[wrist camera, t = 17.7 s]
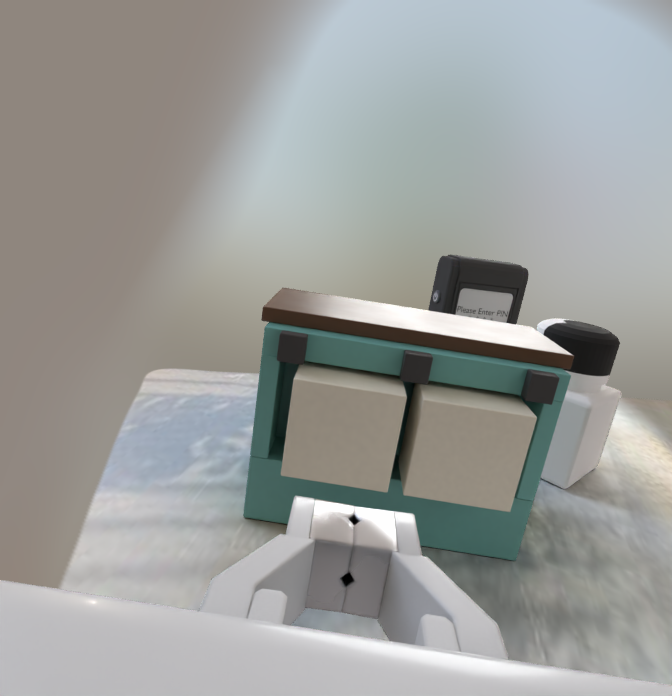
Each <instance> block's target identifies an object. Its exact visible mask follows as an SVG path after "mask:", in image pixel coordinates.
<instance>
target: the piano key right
mask: <svg viewBox="0 0 672 696" xmlns="http://www.w3.org/2000/svg"><path fill="white" fill-rule="evenodd" d="M536 420H537V417H536V416H535V414H534V413H533V412H532V411H531V410H530V409H529V407H528V406H527V405H526V404H525V403H524V402H523V400H522V399H521V398H520V397H519V396H518V395H517V394H510V393H504V392H498V391H492V390H485V389H479V388H473V387H466V386H460V385H454V384H448V383H441V382H435V381H429V380H428V384H427V385H424V384H418V383H415V384H414V389H413V393H412V398H411V403H410V408H409V413H408V418H407V422H406V427H405V432H404V437H403V442H402V447H401V451H400V456H399V461H398V463H399V470H400V476H401V483H402V489H403V495H405V496H412V497H418V498H424V499H430V500H437V501H443V502H449V503H455V504H461V505H468V506H474V507H480V508H486V509H493V510H499V511H505V512H510V511H511V507H512V504H513V500H514V497H515V493H516V490H517V486H518V483H519V479H520V476H521V472H522V469H523V465H524V462H525V458H526V455H527V451H528V448H529V444H530V441H531V437H532V434H533V430H534V427H535V423H536Z"/></svg>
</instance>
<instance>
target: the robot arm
mask: <svg viewBox="0 0 672 696" xmlns="http://www.w3.org/2000/svg"><path fill="white" fill-rule="evenodd" d="M314 503H315V505H314ZM313 509H314V511H313ZM312 516H313V517H312ZM311 523H312V524H311ZM305 608H311V609H318V610H326V611H334V612H342V613H347V614H352V615H358V616H363V617H369V618H374V619H378V622H379V624H380V626H381V627H382V629H383V630H384V632H385V634H386V635H387V637H388V638H389V640H390V641H387V640H380V639H374V638H368V637H361V636H355V635H349V634H342V633H336V632H329V631H323V630H317V629H310V628H304V627H298V626H291V624H292V623H293V622H294V621H295V620H296V619H297V618H298V617H299V616H300V614H301V613H302V612H303V611H304V610H305ZM0 696H672V685H667V684H661V683H655V682H648V681H642V680H636V679H629V678H623V677H617V676H610V675H604V674H598V673H591V672H585V671H578V670H572V669H566V668H559V667H553V666H546V665H540V664H534V663H527V662H521V661H515V660H509V657H508V654H507V651H506V648H505V645H504V642H503V639H502V636H501V633H500V630H499V627H498V624H497V623H496V622H495V621H494V620H493V619H492V618H491V617H490V616H489V615H488V614H487V613H486V612H484V611H483V610H482V609H481V608H480V607H479V606H478V605H477V604H476V603H475V602H474V601H473V600H472V599H471V598H470V597H469V596H468V595H467V594H466V593H465V592H464V591H463V590H462V589H461V588H460V587H459V586H457V585H456V584H455V583H454V582H453V581H452V580H451V579H450V578H449V577H448V576H447V575H446V574H445V573H444V572H443V571H442V570H441V569H440V568H439V567H438V566H437V565H436V564H435V563H434V562H433V561H431V560H430V559H429V558H428V557H425V556H422V552H421V547H420V542H419V536H418V531H417V526H416V520H415V515H414V514H413V513H405V512H396V511H387V510H379V509H372V508H364V507H356V506H354V505H348V504H343V503H337V502H331V501H326V500H320V499H314V498H309V497H302V496H295V497H294V500H293V504H292V509H291V513H290V517H289V522H288V526H287V531H286V535H284V534H279V535H278V536H276V537H275V538H273V539H272V540H270V541H268V542H267V543H265V544H264V545H262V546H261V547H259V548H258V549H256V550H255V551H253V552H252V553H250V554H249V555H247V556H246V557H244V558H242V559H241V560H239V561H238V562H236V563H235V564H233V565H232V566H230V567H229V568H227V569H226V570H224V571H223V572H221V573H220V574H218V575H217V576H215V577H213V578H212V579H211V581H210V584H209V586H208V589H207V591H206V594H205V596H204V598H203V601H202V603H201V606H200V608H199V611H196V610H189V609H183V608H176V607H170V606H164V605H157V604H151V603H145V602H138V601H132V600H125V599H119V598H113V597H106V596H100V595H94V594H87V593H81V592H74V591H68V590H62V589H55V588H49V587H42V586H36V585H30V584H23V583H17V582H11V581H4V580H0Z"/></svg>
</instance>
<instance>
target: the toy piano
mask: <svg viewBox="0 0 672 696" xmlns="http://www.w3.org/2000/svg"><path fill="white" fill-rule="evenodd" d="M262 321H267V322H269V323H268V324H267V325H266V327H265V332H264V339H263V348H262V357H261V366H260V375H259V383H258V392H257V401H256V409H255V418H254V427H253V436H252V444H251V453H250V455H251V456H250V462H249V471H248V480H247V488H246V497H245V506H244V514H243V516H244V517H246V518H252V519H258V520H264V521H271V522H277V523H283V524H288V522H289V517H290V513H291V509H292V504H293V500H294V497H295V496H302V497H309V498H314V499H320V500H326V501H331V502H337V503H343V504H348V505H354V506H356V507H364V508H372V509H379V510H387V511H396V512H405V513H413V514H414V515H415V520H416V526H417V531H418V536H419V542H420V546H426V547H433V548H439V549H445V550H451V551H458V552H464V553H470V554H476V555H482V556H489V557H495V558H501V559H507V560H514V561H515V560H516V558H517V554H518V551H519V548H520V544H521V541H522V538H523V534H524V531H525V528H526V524H527V521H528V518H529V514H530V511H531V508H532V504H533V500H534V498H535V494H536V491H537V488H538V484H539V481H540V478H541V474H542V471H543V468H544V464H545V461H546V457H547V454H548V451H549V447H550V444H551V441H552V437H553V434H554V431H555V427H556V424H557V421H558V417H559V414H560V411H561V407H562V404H563V401H564V398H565V395H566V391H567V388H568V385H569V381H570V378H571V375H570V374H569V373H567V372H566V371H565V370H563V369H571V365H572V362H573V359H574V356H573V355H572V354H570V353H569V352H568V351H566V350H565V349H563V348H562V347H560V346H559V345H557V344H556V343H554V342H553V341H551V340H550V339H548V338H547V337H546V336H544V335H543V334H541V333H540V332H538V331H537V330H535V329H534V328H532V327H528V326H522V325H516V324H510V323H504V322H497V321H491V320H485V319H478V318H472V317H466V316H459V315H453V314H447V313H440V312H434V311H428V310H421V309H415V308H409V307H403V306H396V305H389V304H384V303H377V302H371V301H365V300H358V299H352V298H346V297H339V296H333V295H327V294H320V293H314V292H308V291H301V290H295V289H289V288H282V289H281V290H280V291H279V292H278V293H277V294H276V295H275V296H274V297H273V298H272V299H271V300H270V301H269V302H268V303H267V304H266V305H265V306H264V307H263V312H262ZM304 361H309V362H315V363H322V364H328V365H334V366H341V367H347V368H353V369H359V370H366V371H372V372H378V373H385V374H391V375H397V376H400V379H401V381H403V384H404V388H405V392H406V396H407V400H406V405H405V409H404V414H403V419H402V424H401V429H400V434H399V439H398V444H397V449H396V453H395V458H394V463H393V468H392V473H391V478H390V483H389V488H388V492H380V491H374V490H368V489H361V488H355V487H349V486H343V485H336V484H330V483H324V482H318V481H311V480H305V479H299V478H293V477H286V476H281V468H282V461H283V453H284V446H285V439H286V431H287V424H288V416H289V409H290V402H291V394H292V387H293V379H294V377H295V374H296V372H297V369H298V367H299V365H303V364H304ZM562 368H563V369H562ZM428 380H429V381H435V382H441V383H448V384H454V385H460V386H466V387H473V388H479V389H485V390H492V391H498V392H504V393H510V394H517V395H518V396H519V397H520V398H521V399H522V400H523V402H524V403H525V404H526V405H527V406H528V407H529V409H530V410H531V411H532V412H533V413H534V414H535V416H536V417H537V420H536V423H535V427H534V430H533V434H532V437H531V441H530V444H529V448H528V451H527V455H526V458H525V462H524V465H523V469H522V472H521V476H520V479H519V483H518V486H517V490H516V493H515V497H514V500H513V504H512V507H511V511H510V512H505V511H499V510H493V509H486V508H480V507H474V506H468V505H461V504H455V503H449V502H443V501H437V500H430V499H424V498H418V497H412V496H405V495H403V489H402V483H401V476H400V470H399V463H398V461H399V456H400V451H401V447H402V442H403V437H404V432H405V427H406V422H407V418H408V413H409V408H410V403H411V398H412V393H413V389H414V384H415V383H418V384H424V385H427V384H428ZM314 505H315V503H314ZM313 511H314V509H313ZM312 517H313V516H312ZM311 524H312V523H311Z"/></svg>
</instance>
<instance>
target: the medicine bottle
mask: <svg viewBox="0 0 672 696" xmlns="http://www.w3.org/2000/svg"><path fill="white" fill-rule="evenodd" d="M537 331H538V332H540V333H541V334H543V335H544V336H546V337H547V338H548V339H550V340H551V341H553V342H554V343H556V344H557V345H559V346H560V347H562V348H563V349H565V350H566V351H568V352H569V353H570V354H572V355H573V356H574V359H573V362H572V365H571V369H563V368H562V369H563V370H565V371H566V372H567V373H569V374H570V375H571V378H570V381H569V385H568V388H567V391H566V395H565V398H564V401H563V404H562V407H561V411H560V414H559V417H558V421H557V424H556V427H555V431H554V434H553V437H552V441H551V444H550V447H549V451H548V454H547V457H546V461H545V464H544V468H543V471H542V474H541V478H542V479H544V480H546V481H548V482H550V483H552V484H554V485H556V486H558V487H560V488H562V489H566V488H568V487H570V486H571V485H572V484H574V483H575V482H576V481H578V480H579V479H581V478H582V477H583V476H585V475H586V474H587V473H589V472H590V471H592V470H593V469H594V468H596V467H597V466H598V463H599V460H600V457H601V454H602V451H603V448H604V445H605V442H606V439H607V436H608V433H609V430H610V427H611V424H612V421H613V418H614V415H615V412H616V409H617V406H618V403H619V400H620V397H621V392H620V391H619V390H617V389H614V388H612V387H608V386H605V384H606V383H607V382H608V379H609V376H610V372H611V369H612V366H613V363H614V360H615V357H616V354H617V350H618V348H619V344H620V342H619V340H618V338H617V337H616V336H615V335H613V334H612V333H611V332H610V331H608V330H606V329H604V328H601V327H598V326H594V325H591V324H587V323H583V322H577V321H573V320H567V319H557V318H556V319H555V318H554V319H549V320H544V321H542V322H541V323H539V324H538V326H537Z"/></svg>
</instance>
